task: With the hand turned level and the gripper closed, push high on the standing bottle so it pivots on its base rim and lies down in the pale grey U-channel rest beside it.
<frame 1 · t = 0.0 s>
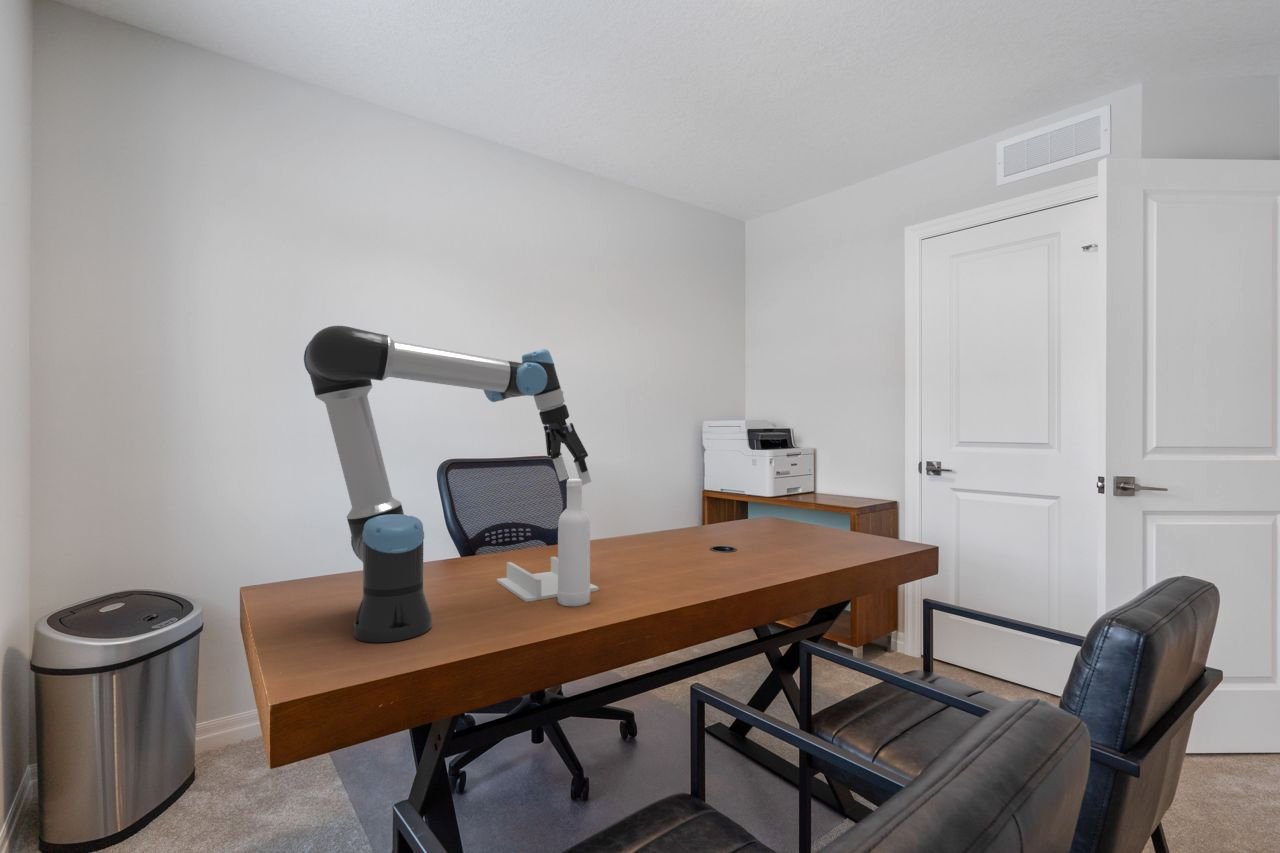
hand: (574, 481, 162), 28 cm above the table, tool tilted 20°, fingers open, 13 cm apart
bottle: (573, 602, 145), on the table
u rest: (546, 585, 159), on the table
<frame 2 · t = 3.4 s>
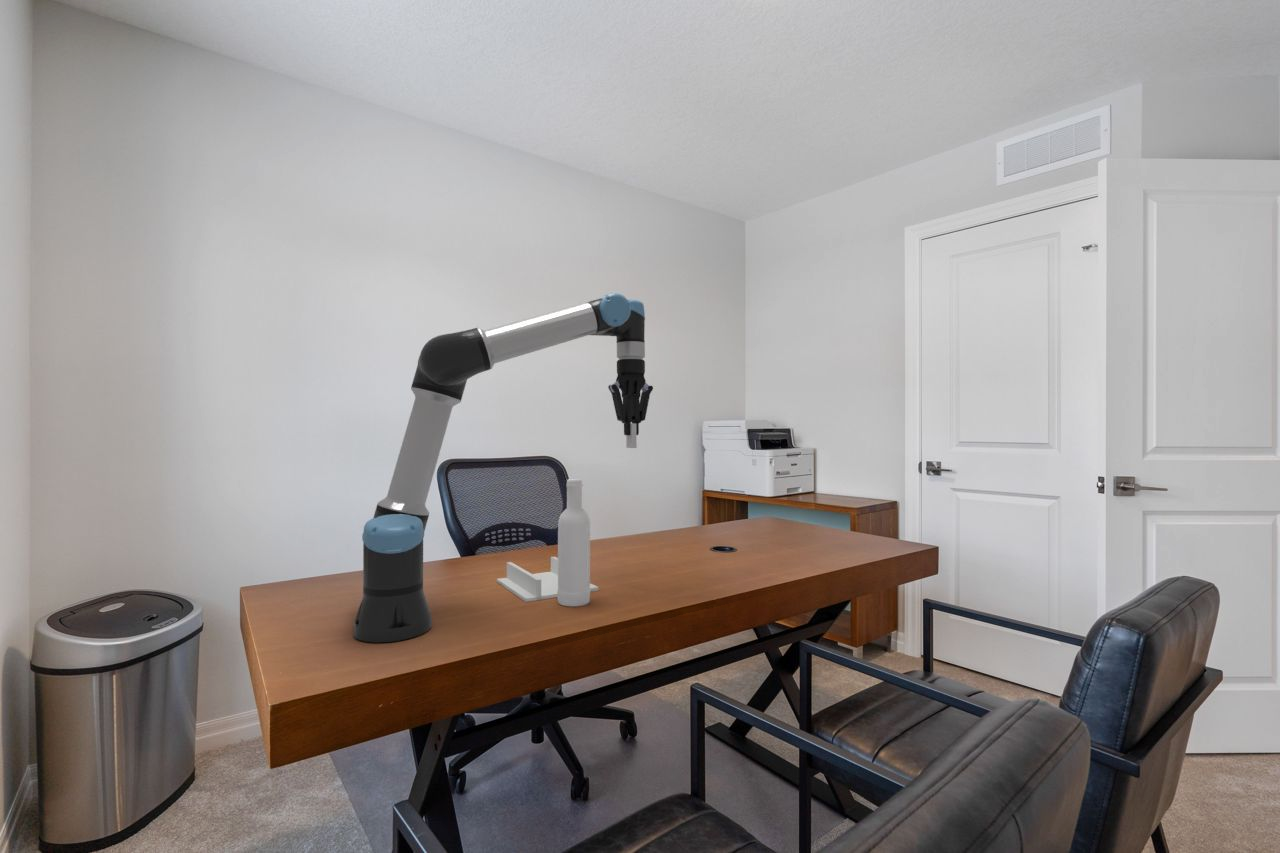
hand: (631, 447, 158), 37 cm above the table, tool pointing down, fingers closed
nothing on the table moved.
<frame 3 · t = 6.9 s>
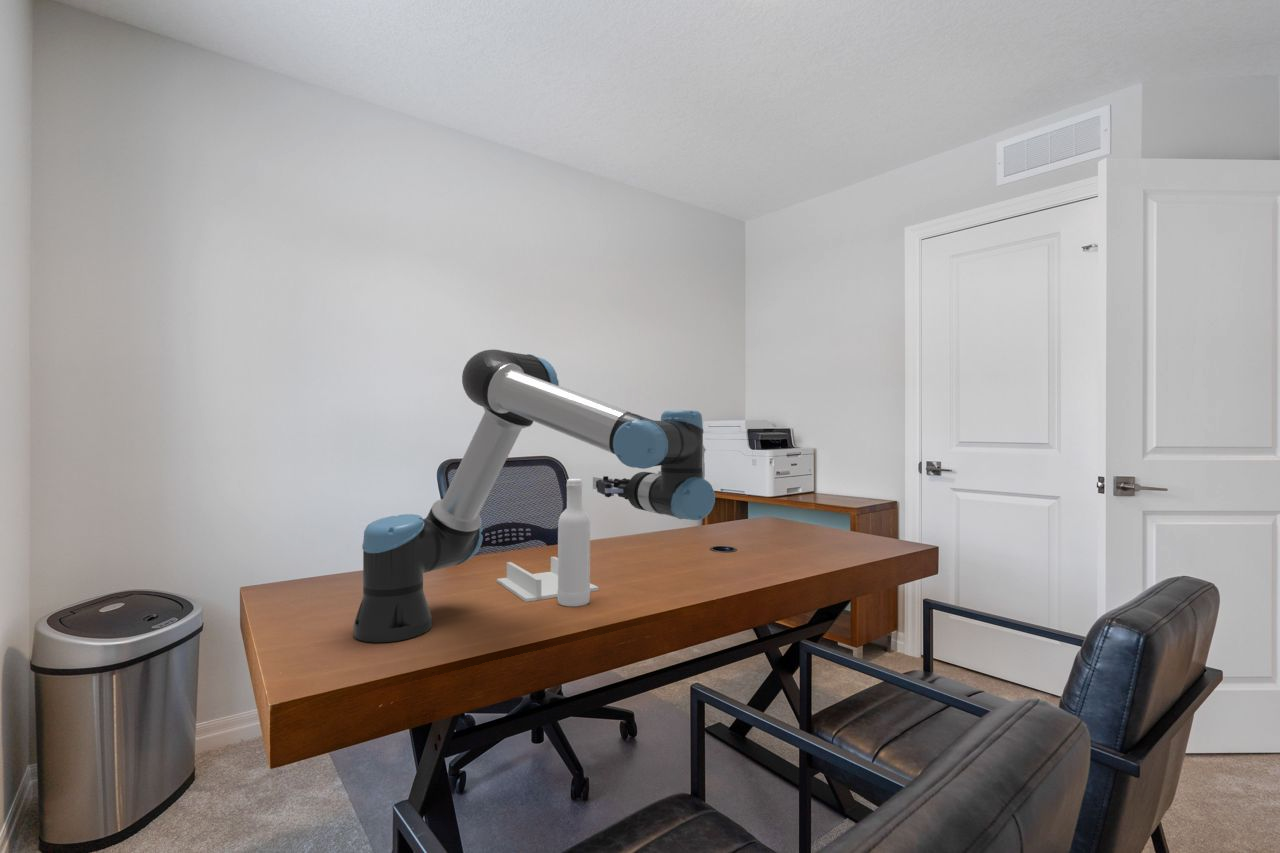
hand: (595, 482, 135), 30 cm above the table, tool horizontal, fingers closed
nothing on the table moved.
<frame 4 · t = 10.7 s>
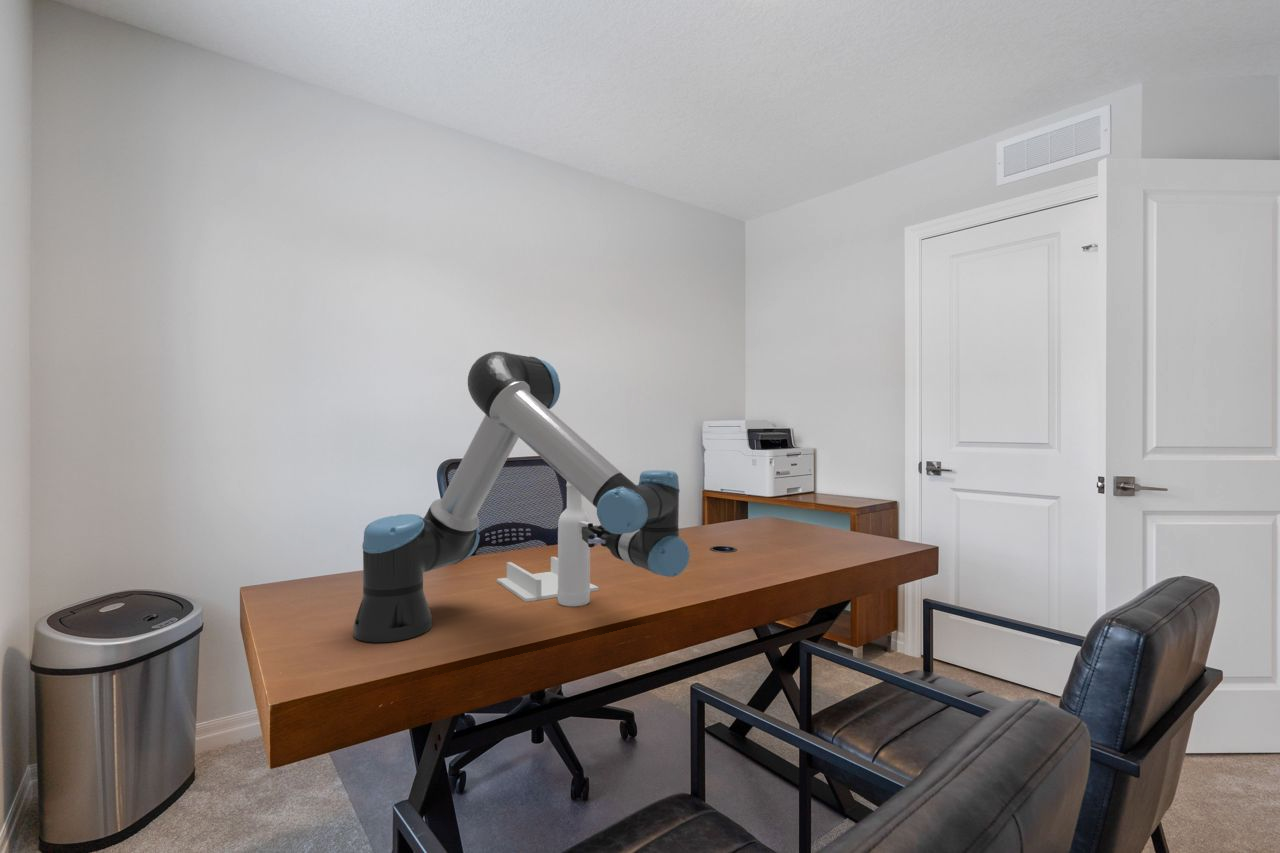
hand: (581, 527, 141), 19 cm above the table, tool horizontal, fingers closed
bottle: (573, 602, 145), on the table, touching gripper
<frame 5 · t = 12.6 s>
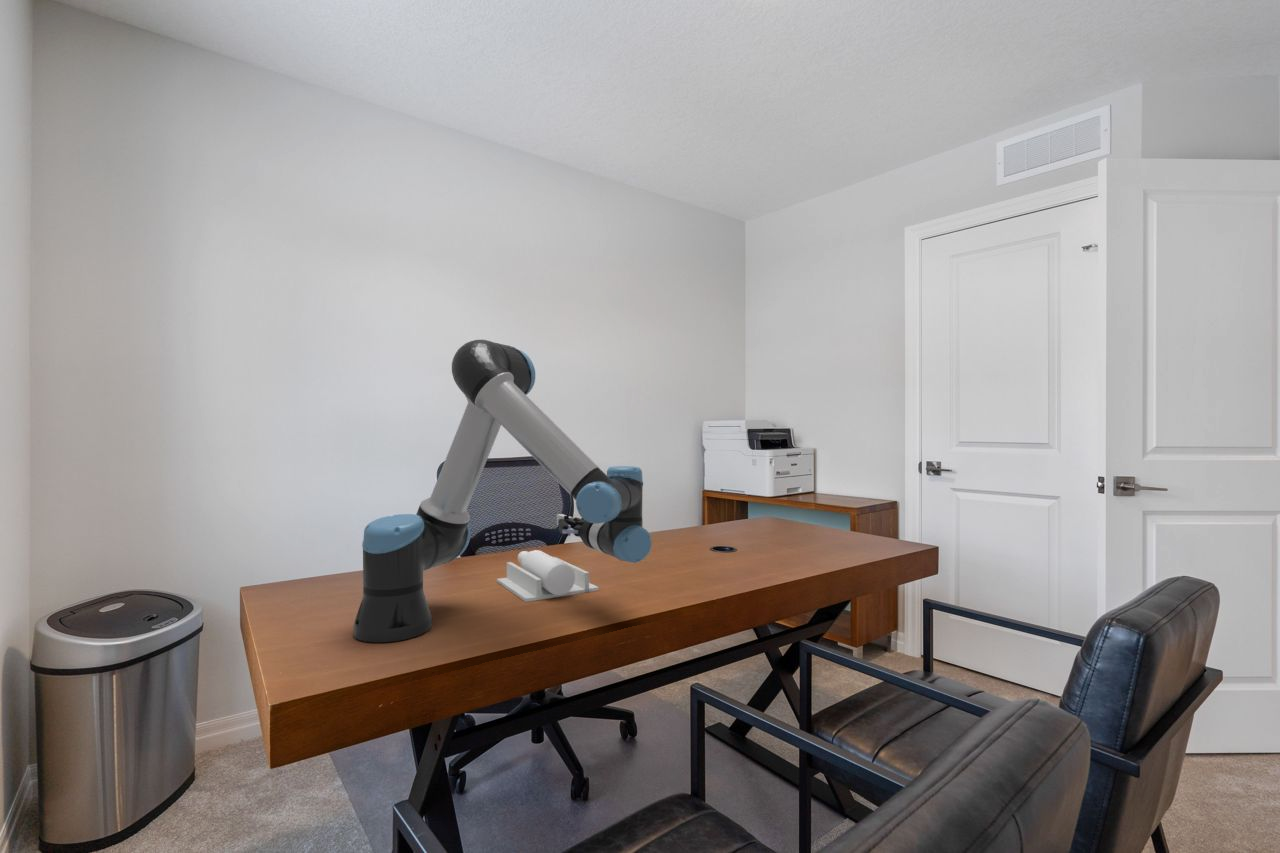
hand: (559, 519, 152), 19 cm above the table, tool horizontal, fingers closed
bottle: (561, 579, 147), point 5 cm above the table, touching u rest
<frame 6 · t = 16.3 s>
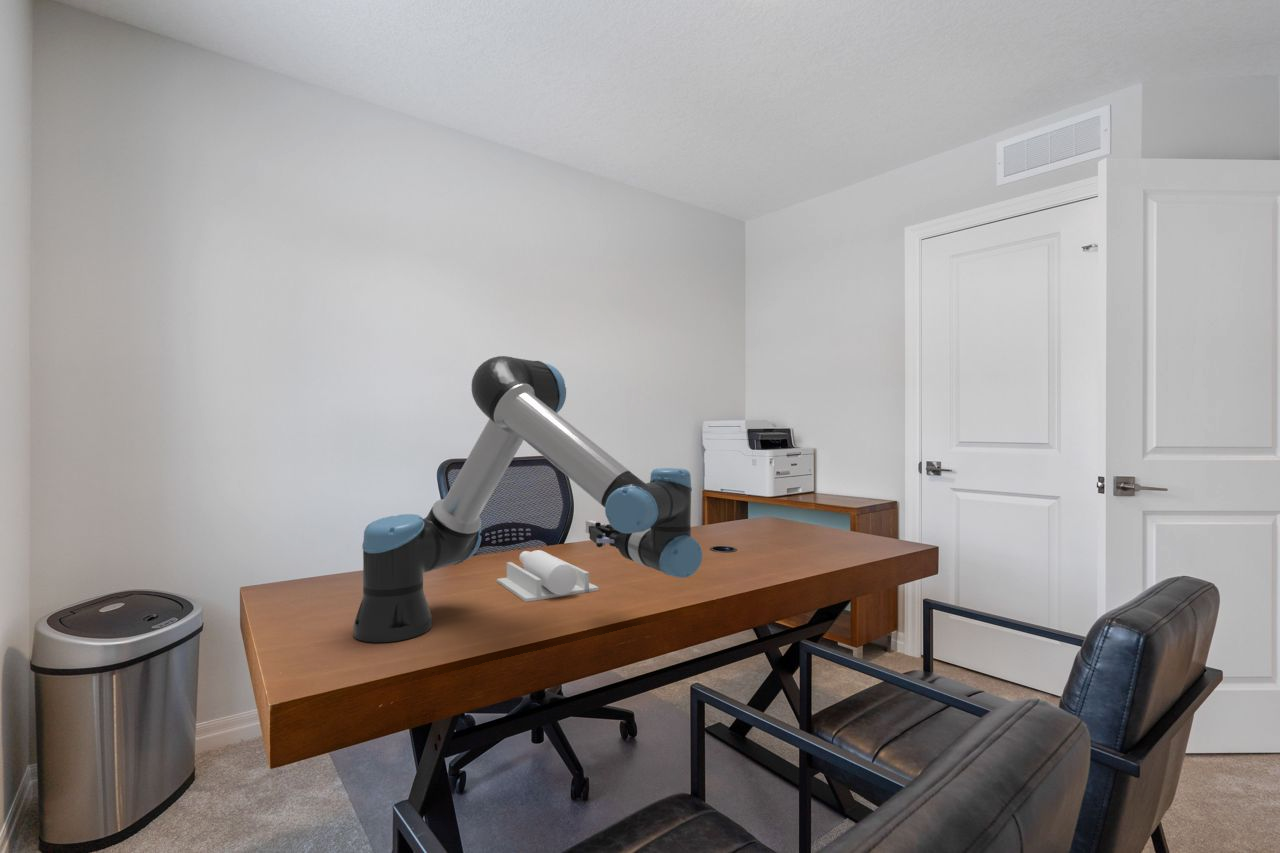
hand: (588, 526, 138), 20 cm above the table, tool horizontal, fingers closed
nothing on the table moved.
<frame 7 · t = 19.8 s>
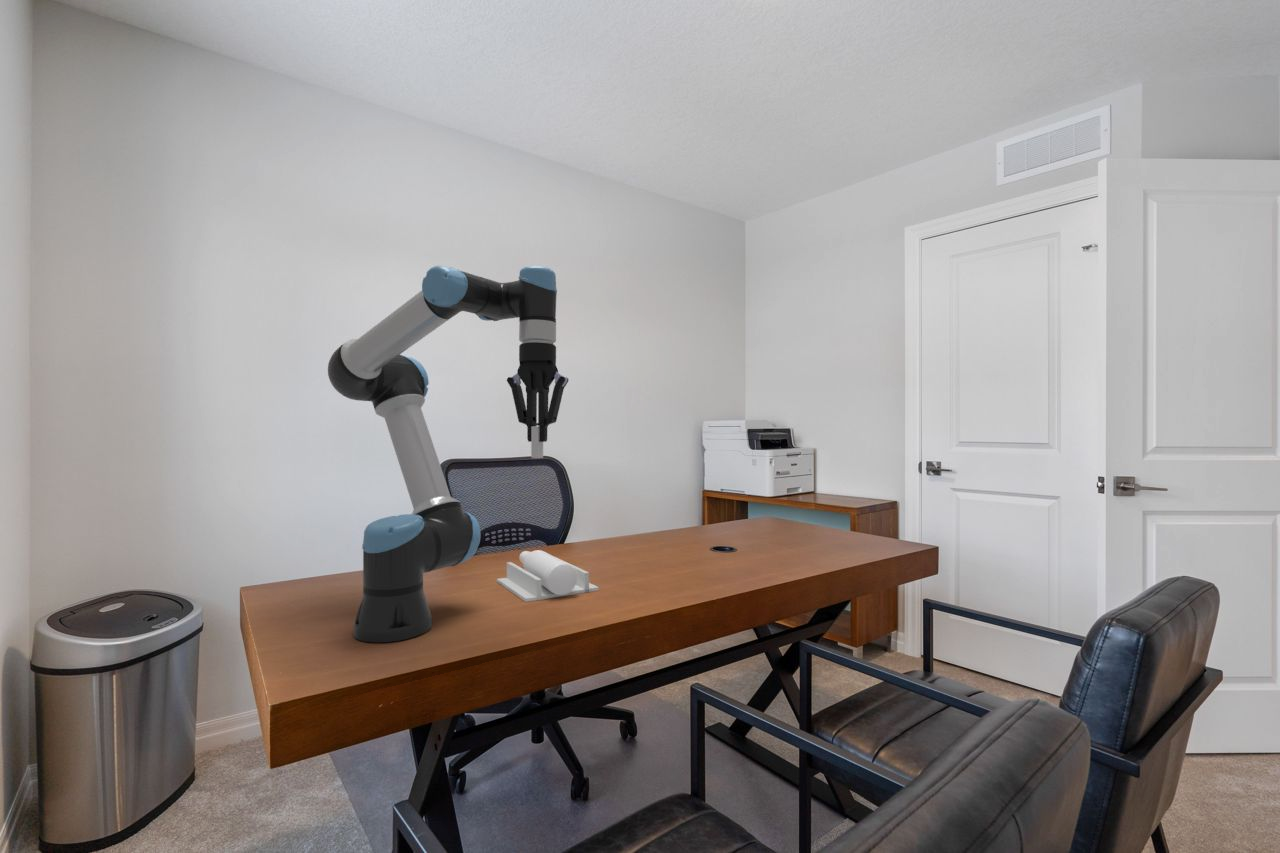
hand: (537, 457, 122), 36 cm above the table, tool pointing down, fingers closed
nothing on the table moved.
at the end: bottle tilted 90°; bottle touching u rest; bottle inside the target area (1.2 cm from its centre), point 4.8 cm above the table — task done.
